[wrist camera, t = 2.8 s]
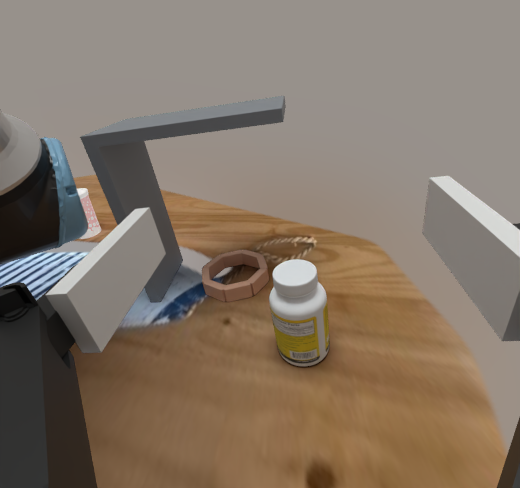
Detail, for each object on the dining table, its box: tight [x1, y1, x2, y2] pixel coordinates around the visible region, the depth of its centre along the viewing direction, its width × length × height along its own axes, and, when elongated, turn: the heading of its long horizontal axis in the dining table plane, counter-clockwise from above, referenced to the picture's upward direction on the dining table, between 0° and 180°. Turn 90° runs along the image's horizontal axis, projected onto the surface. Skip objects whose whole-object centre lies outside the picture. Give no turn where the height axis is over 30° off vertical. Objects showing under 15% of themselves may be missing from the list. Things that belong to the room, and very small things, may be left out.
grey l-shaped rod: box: [80, 96, 285, 302], centre depth 40 cm, size 10×20×22 cm, turn 84°
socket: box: [202, 250, 269, 302], centre depth 44 cm, size 9×9×2 cm
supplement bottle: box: [269, 259, 329, 366], centre depth 30 cm, size 5×5×10 cm
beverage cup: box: [77, 188, 101, 239], centre depth 62 cm, size 6×6×14 cm
